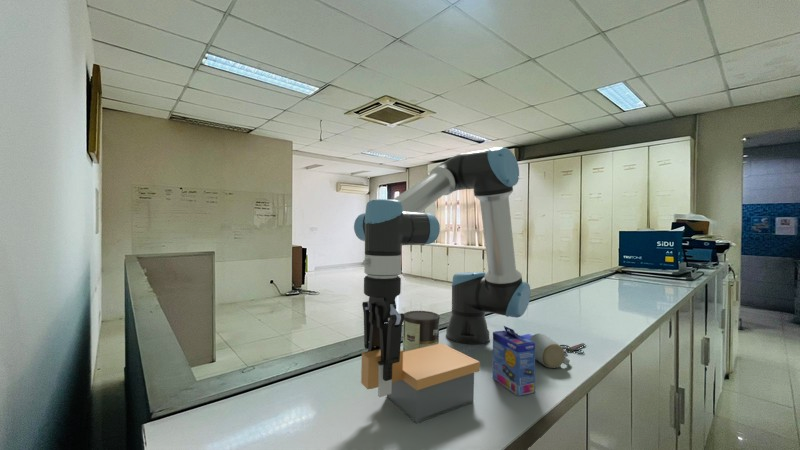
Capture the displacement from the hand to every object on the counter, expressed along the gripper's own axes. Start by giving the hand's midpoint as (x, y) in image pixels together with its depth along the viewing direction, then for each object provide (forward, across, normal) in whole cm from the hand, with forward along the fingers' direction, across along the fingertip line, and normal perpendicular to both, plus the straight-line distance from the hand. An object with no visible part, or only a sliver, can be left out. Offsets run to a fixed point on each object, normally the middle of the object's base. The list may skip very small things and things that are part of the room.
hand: (380, 390), depth 66 cm
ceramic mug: (+6, +2, +56) cm, 56 cm away
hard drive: (+6, -13, +65) cm, 67 cm away
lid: (-2, 0, +9) cm, 9 cm away
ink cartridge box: (+6, +5, +35) cm, 36 cm away
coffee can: (+6, -16, +22) cm, 28 cm away
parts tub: (+5, 0, +13) cm, 14 cm away
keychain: (+6, -1, +73) cm, 73 cm away
